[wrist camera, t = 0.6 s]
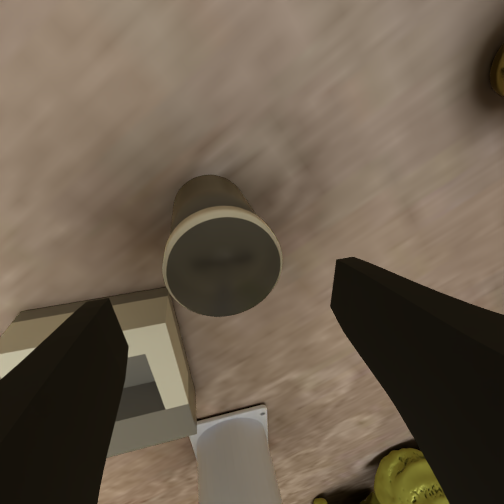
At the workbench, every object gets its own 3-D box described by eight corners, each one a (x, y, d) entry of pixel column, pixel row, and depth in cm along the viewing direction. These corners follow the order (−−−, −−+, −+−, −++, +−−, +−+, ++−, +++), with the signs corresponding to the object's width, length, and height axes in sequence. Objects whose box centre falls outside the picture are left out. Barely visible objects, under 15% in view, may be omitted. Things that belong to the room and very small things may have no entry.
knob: (249, 240, 18) (283, 307, 12) (178, 250, 17) (175, 328, 11) (245, 168, 15) (285, 207, 9) (162, 176, 15) (147, 224, 9)
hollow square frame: (195, 393, 24) (197, 434, 21) (88, 418, 22) (73, 466, 19) (168, 286, 18) (165, 322, 15) (20, 311, 16) (-16, 357, 13)
